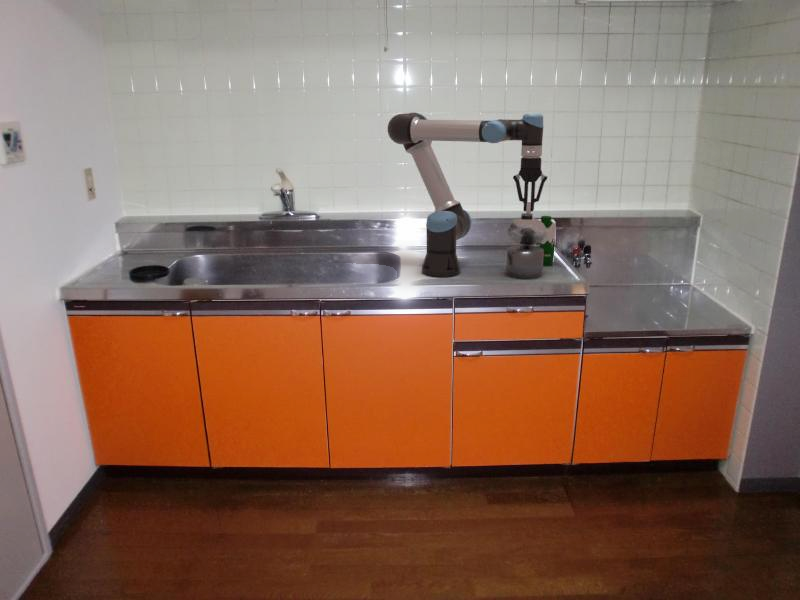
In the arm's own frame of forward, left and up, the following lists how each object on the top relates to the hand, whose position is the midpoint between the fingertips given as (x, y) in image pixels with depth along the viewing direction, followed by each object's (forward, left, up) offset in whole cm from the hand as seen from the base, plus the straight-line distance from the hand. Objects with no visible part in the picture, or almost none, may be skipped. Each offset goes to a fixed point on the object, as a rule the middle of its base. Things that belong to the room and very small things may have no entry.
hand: (528, 219), depth 237 cm
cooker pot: (0, -3, -21) cm, 21 cm away
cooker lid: (0, 0, -4) cm, 4 cm away
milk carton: (+6, +16, -21) cm, 27 cm away
